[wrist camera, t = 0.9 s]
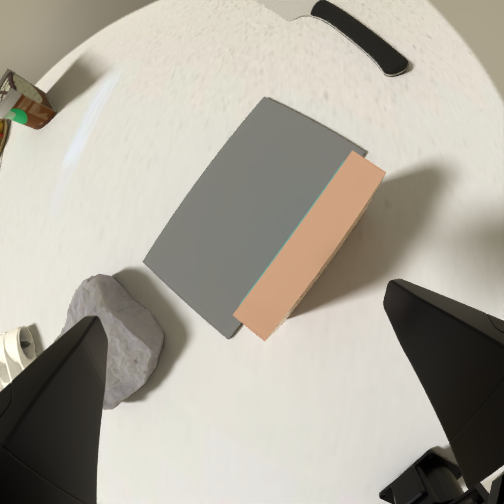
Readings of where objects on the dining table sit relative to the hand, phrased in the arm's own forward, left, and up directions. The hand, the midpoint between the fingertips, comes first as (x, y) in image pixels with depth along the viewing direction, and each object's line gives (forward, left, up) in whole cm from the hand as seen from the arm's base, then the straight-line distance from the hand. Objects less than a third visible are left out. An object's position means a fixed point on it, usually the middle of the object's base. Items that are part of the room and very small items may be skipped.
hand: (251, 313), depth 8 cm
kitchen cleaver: (+18, -26, -14) cm, 35 cm away
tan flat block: (0, -3, -13) cm, 14 cm away
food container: (+46, +3, -13) cm, 48 cm away
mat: (+7, -3, -13) cm, 15 cm away
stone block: (+10, +15, -14) cm, 23 cm away
